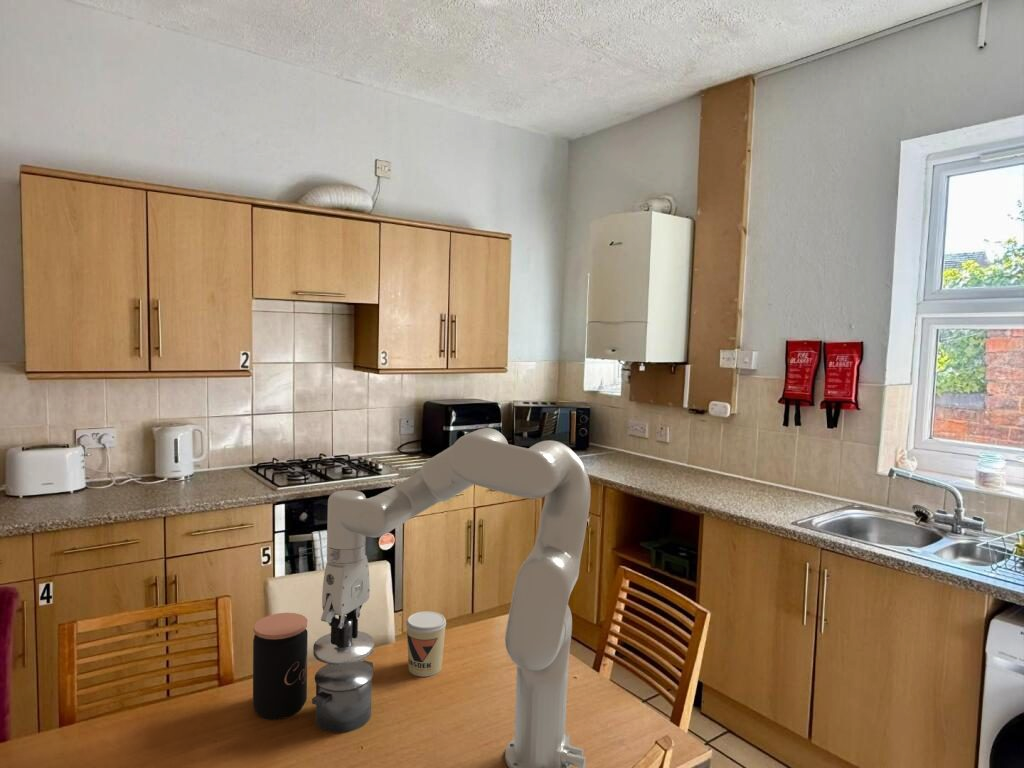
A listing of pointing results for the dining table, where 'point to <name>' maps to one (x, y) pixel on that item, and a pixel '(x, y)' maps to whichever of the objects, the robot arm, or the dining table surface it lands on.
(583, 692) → the dining table surface
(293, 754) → the dining table surface
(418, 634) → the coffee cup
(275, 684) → the coffee jar
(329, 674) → the pot
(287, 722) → the dining table surface
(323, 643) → the lid
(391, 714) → the dining table surface
